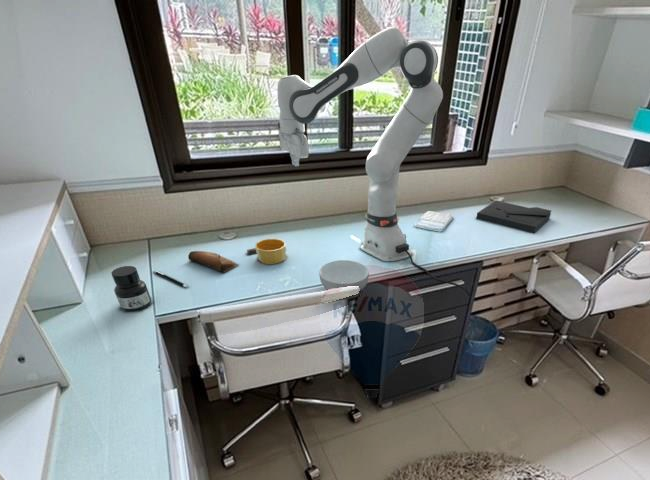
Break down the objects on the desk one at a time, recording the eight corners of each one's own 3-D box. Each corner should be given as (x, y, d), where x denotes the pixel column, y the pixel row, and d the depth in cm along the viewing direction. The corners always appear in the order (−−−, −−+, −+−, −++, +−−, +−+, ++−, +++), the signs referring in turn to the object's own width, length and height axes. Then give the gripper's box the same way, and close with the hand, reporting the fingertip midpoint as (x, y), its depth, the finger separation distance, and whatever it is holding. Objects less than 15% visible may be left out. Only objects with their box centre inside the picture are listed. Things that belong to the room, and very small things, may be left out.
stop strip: (282, 247, 166) (281, 244, 165) (248, 254, 160) (247, 251, 159) (280, 246, 167) (280, 242, 166) (247, 253, 161) (246, 249, 160)
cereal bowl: (350, 307, 131) (350, 288, 126) (310, 292, 138) (308, 274, 133) (377, 285, 142) (378, 267, 138) (339, 273, 149) (338, 255, 145)
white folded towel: (453, 218, 197) (453, 214, 196) (441, 232, 182) (441, 228, 181) (427, 213, 201) (427, 209, 200) (413, 227, 186) (413, 223, 185)
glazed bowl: (266, 236, 160) (268, 249, 164) (249, 247, 152) (251, 261, 155) (290, 241, 157) (292, 254, 161) (275, 253, 149) (276, 266, 152)
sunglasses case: (239, 263, 152) (229, 252, 146) (229, 278, 150) (218, 268, 144) (206, 252, 159) (195, 241, 154) (195, 266, 157) (184, 256, 152)
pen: (155, 271, 147) (154, 269, 146) (188, 287, 139) (187, 284, 138) (153, 272, 146) (152, 270, 146) (186, 288, 138) (185, 285, 137)
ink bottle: (118, 314, 124) (104, 280, 117) (120, 300, 131) (106, 267, 124) (153, 308, 128) (141, 274, 120) (153, 294, 134) (141, 262, 127)
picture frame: (549, 218, 199) (494, 206, 212) (551, 210, 197) (496, 198, 210) (534, 233, 184) (476, 218, 197) (536, 224, 181) (477, 210, 194)
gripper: (311, 130, 145) (313, 170, 153) (290, 121, 159) (293, 158, 167) (295, 132, 142) (298, 172, 150) (275, 122, 156) (279, 160, 164)
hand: (295, 165), depth 159 cm, fingers closed
